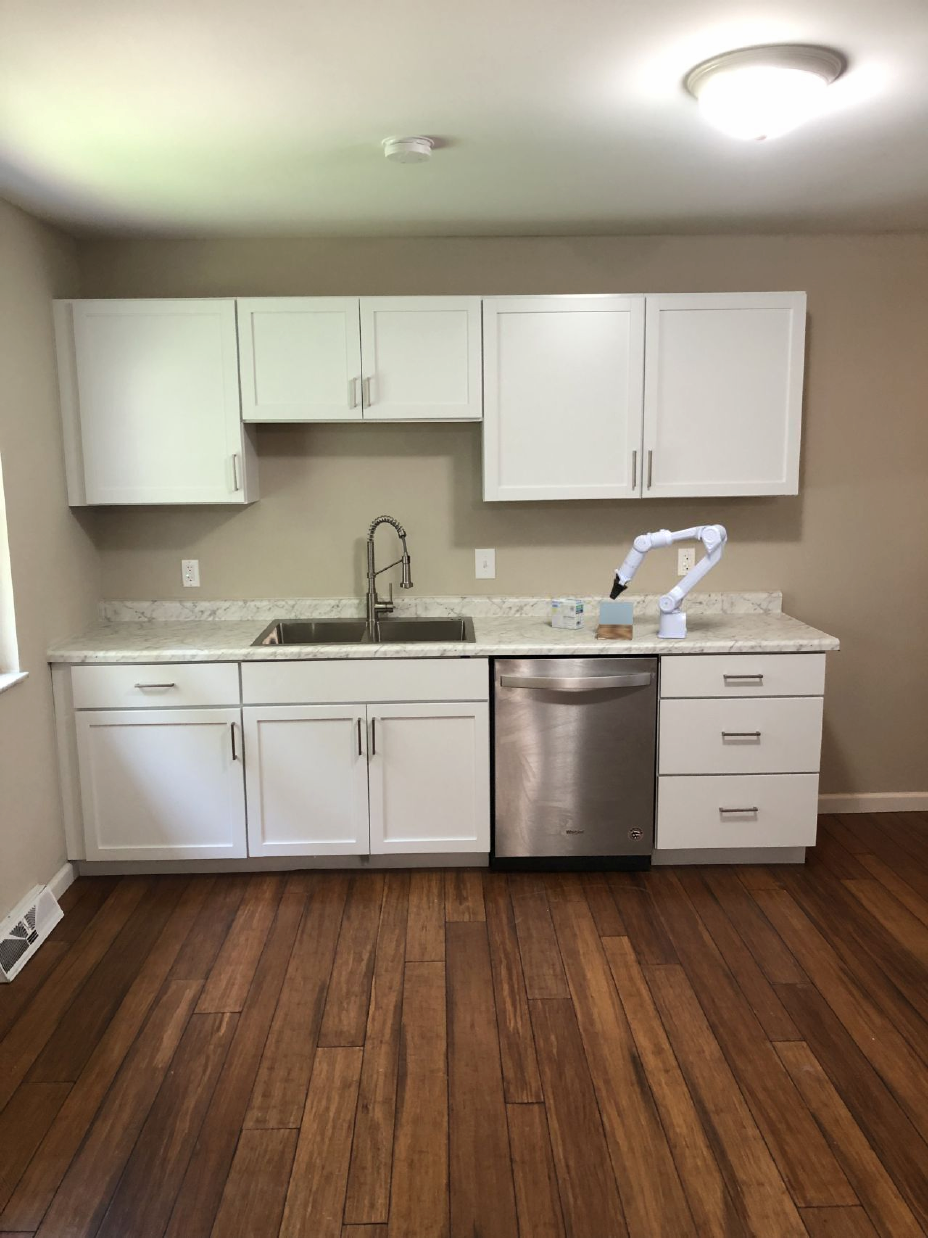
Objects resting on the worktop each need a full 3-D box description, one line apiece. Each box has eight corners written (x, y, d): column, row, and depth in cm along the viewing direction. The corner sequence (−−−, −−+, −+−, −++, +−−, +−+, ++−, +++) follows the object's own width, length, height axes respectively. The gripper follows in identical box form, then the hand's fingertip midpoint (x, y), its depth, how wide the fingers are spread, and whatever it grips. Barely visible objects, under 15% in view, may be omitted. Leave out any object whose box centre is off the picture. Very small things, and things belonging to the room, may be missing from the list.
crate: (632, 636, 337) (632, 625, 336) (631, 640, 329) (631, 629, 328) (599, 635, 339) (599, 624, 339) (597, 639, 332) (597, 628, 331)
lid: (632, 624, 336) (632, 625, 337) (633, 601, 337) (633, 601, 338) (599, 624, 339) (599, 624, 340) (599, 600, 339) (600, 601, 341)
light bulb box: (584, 627, 356) (584, 599, 354) (575, 630, 351) (576, 601, 349) (559, 624, 362) (559, 597, 360) (550, 627, 357) (550, 599, 355)
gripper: (623, 554, 345) (605, 584, 350) (619, 564, 332) (601, 595, 337) (640, 563, 344) (621, 593, 350) (637, 573, 331) (618, 605, 336)
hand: (612, 595), depth 343 cm, fingers open, 7 cm apart
